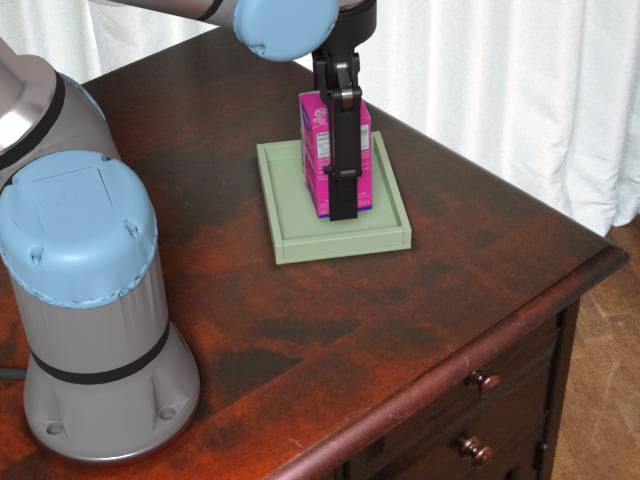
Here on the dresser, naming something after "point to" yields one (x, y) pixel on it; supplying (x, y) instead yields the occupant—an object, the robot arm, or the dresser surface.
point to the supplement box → (319, 155)
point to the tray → (320, 234)
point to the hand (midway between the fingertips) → (337, 195)
